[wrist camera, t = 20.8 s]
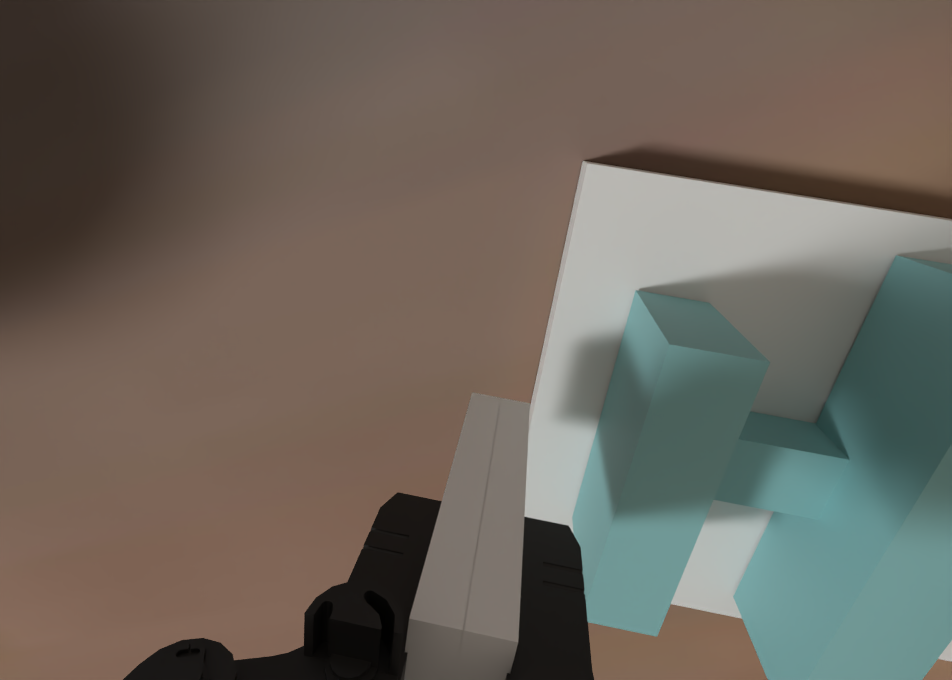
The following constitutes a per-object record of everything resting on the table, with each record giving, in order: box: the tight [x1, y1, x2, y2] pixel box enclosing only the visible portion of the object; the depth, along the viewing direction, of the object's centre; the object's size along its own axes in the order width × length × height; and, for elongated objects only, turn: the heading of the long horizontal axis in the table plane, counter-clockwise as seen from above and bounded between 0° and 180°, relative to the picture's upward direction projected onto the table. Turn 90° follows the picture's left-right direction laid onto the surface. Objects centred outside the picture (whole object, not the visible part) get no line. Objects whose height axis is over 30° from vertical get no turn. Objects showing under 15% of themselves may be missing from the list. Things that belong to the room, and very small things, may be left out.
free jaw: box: [572, 255, 952, 680], centre depth 13 cm, size 8×12×4 cm
